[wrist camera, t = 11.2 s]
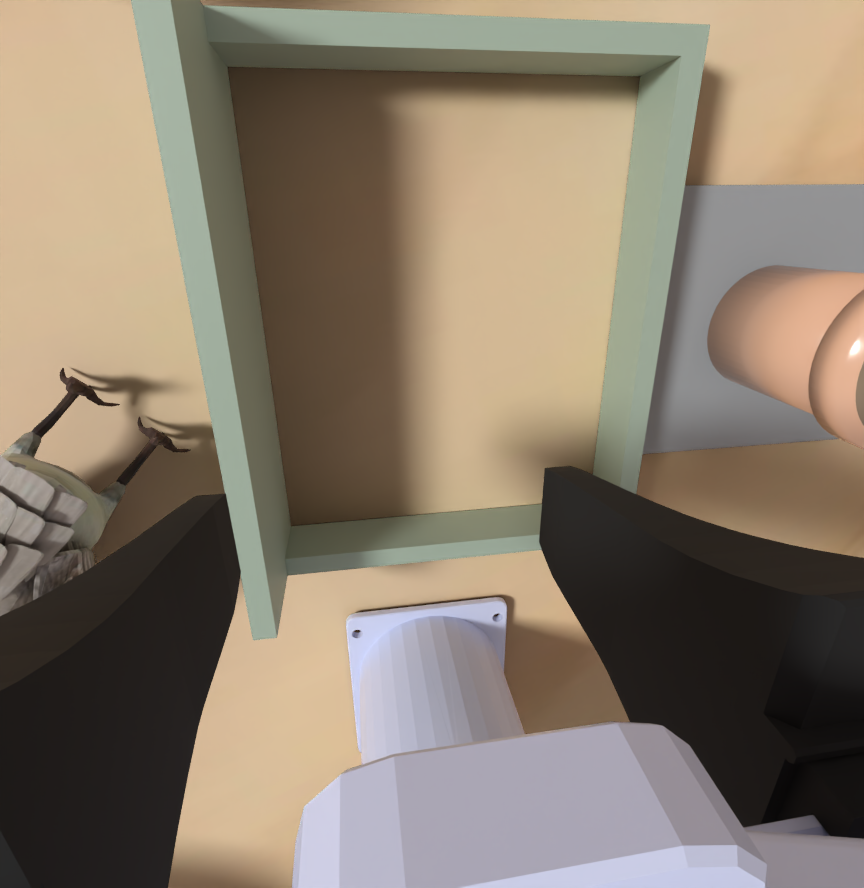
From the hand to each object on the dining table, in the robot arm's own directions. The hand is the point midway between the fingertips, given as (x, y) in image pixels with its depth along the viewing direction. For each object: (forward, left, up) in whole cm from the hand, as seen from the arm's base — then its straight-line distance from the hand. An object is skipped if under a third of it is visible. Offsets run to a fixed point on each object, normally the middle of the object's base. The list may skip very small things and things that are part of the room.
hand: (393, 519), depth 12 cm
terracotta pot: (+2, -17, -10) cm, 19 cm away
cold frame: (+2, -3, -10) cm, 11 cm away
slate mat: (+2, -17, -10) cm, 20 cm away
